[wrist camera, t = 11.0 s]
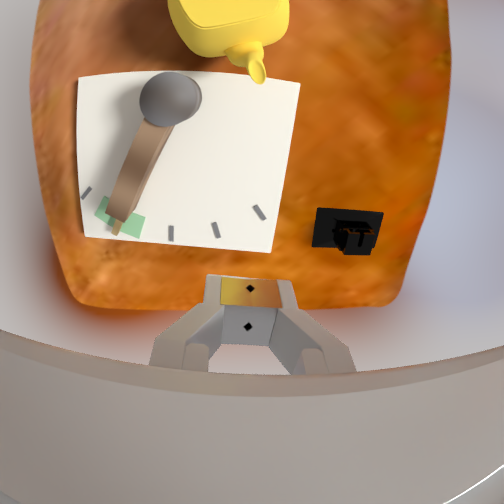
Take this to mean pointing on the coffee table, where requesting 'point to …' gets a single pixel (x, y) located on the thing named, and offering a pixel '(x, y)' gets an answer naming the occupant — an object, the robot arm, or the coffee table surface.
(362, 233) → the black flanged block
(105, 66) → the coffee table surface
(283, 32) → the teapot
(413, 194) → the coffee table surface
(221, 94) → the dial plate
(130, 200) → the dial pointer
